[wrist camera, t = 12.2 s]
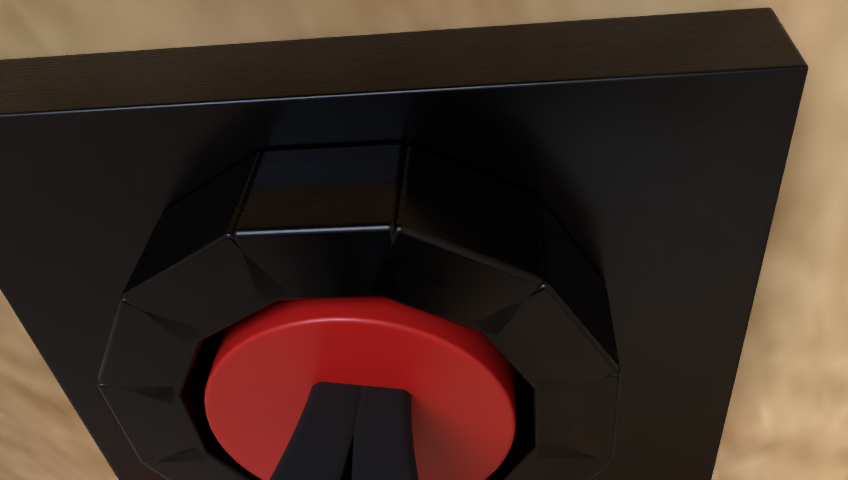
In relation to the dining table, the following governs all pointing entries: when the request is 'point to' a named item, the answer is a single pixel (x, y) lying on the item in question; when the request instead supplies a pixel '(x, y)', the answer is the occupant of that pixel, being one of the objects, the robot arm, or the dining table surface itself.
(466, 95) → the switch box
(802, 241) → the dining table surface
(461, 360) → the light button
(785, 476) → the dining table surface
